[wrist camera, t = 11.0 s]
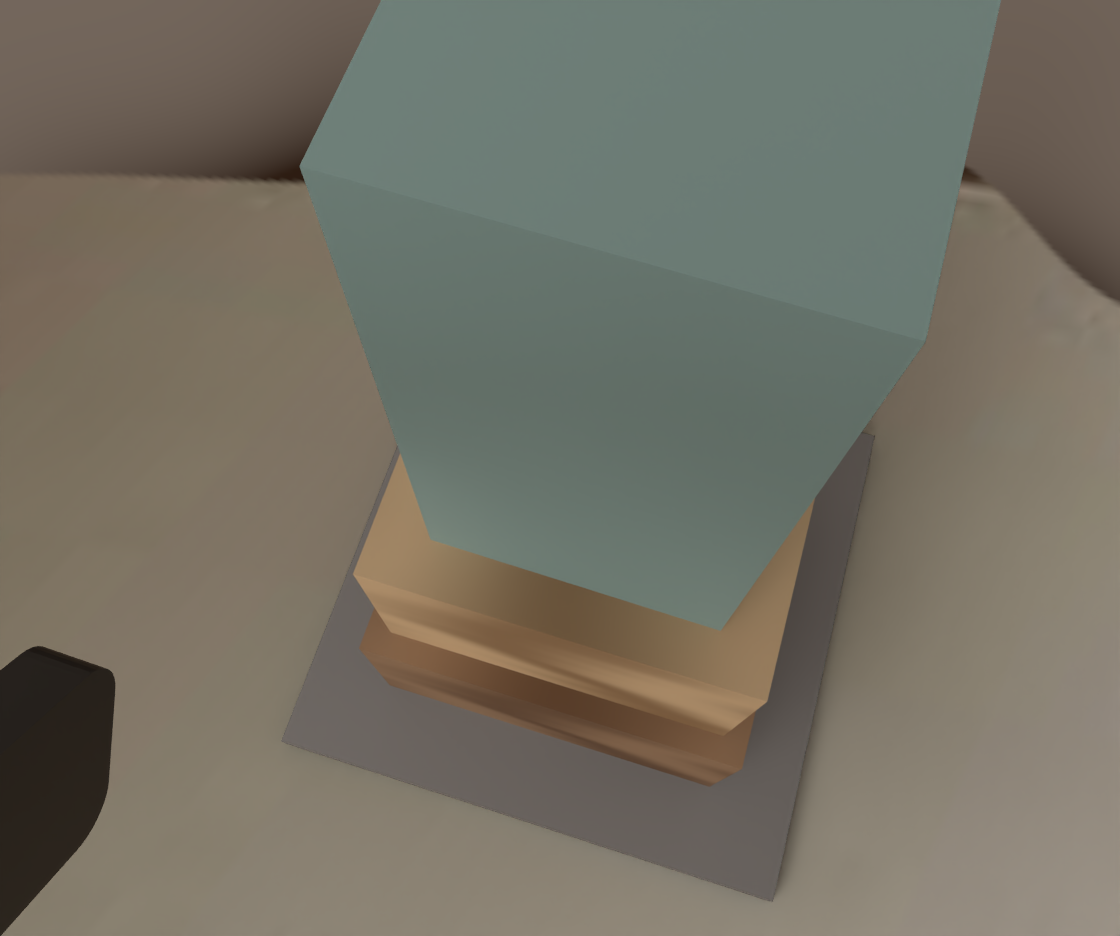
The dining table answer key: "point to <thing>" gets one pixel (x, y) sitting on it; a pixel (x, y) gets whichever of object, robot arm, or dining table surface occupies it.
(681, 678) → the oak block
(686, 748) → the walnut block
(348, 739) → the felt mat
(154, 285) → the dining table surface
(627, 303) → the teal block
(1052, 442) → the dining table surface
